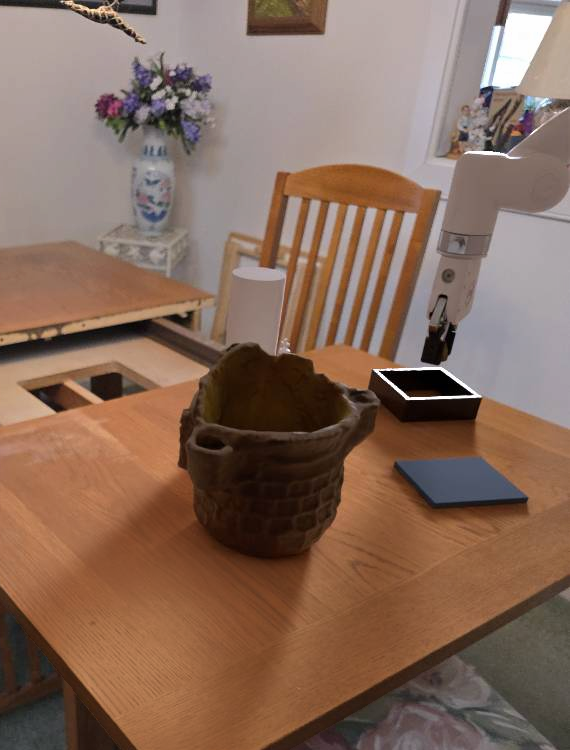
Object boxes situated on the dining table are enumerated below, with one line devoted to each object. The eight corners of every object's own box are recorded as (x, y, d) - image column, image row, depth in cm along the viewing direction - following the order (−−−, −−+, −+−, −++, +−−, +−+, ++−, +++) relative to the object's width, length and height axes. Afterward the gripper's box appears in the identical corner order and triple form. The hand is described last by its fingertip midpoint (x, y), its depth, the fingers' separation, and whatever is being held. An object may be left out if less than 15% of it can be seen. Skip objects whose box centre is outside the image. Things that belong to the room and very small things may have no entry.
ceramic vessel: (388, 570, 67) (259, 339, 62) (201, 622, 83) (84, 441, 78) (434, 470, 84) (335, 280, 78) (270, 529, 100) (178, 374, 94)
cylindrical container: (206, 442, 107) (221, 271, 93) (237, 429, 111) (255, 264, 97) (242, 459, 103) (263, 283, 89) (272, 445, 107) (297, 275, 93)
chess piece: (279, 402, 121) (288, 345, 115) (258, 393, 124) (265, 337, 118) (297, 396, 124) (306, 340, 118) (276, 387, 127) (284, 332, 121)
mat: (479, 461, 106) (481, 456, 106) (527, 502, 96) (529, 497, 96) (393, 465, 104) (394, 460, 103) (433, 508, 94) (435, 503, 93)
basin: (436, 388, 130) (441, 367, 128) (475, 419, 119) (482, 397, 117) (367, 390, 127) (371, 369, 125) (401, 422, 116) (407, 399, 114)
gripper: (474, 257, 101) (442, 378, 111) (502, 238, 112) (471, 350, 123) (422, 249, 104) (396, 368, 114) (454, 232, 116) (428, 341, 126)
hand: (435, 357), depth 118 cm, fingers closed on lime, 4 cm apart
